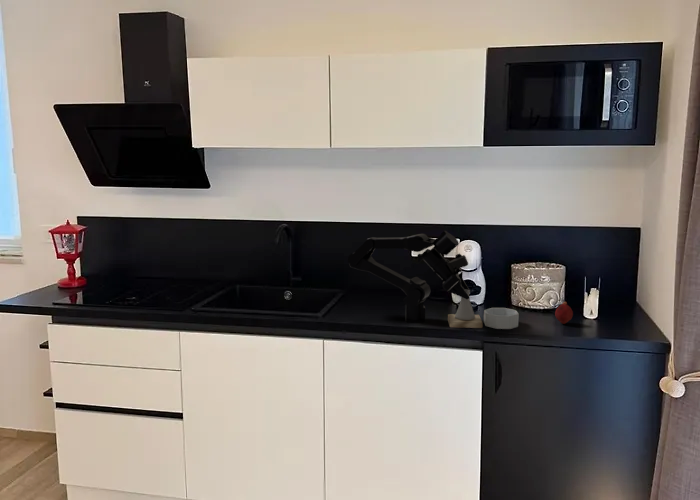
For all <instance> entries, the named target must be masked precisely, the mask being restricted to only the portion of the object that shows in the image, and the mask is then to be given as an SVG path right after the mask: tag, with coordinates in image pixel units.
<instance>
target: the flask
mask: <svg viewBox="0 0 700 500" xmlns="http://www.w3.org/2000/svg"><path fill="white" fill-rule="evenodd" d="M464 290H465V289H464ZM465 291H466V293H467V294H468V296H469V299H465V298H463V297H460V298H461V299H460V302H459V304H458V308H457V311H456V313H455V314H456V315H455V318H456V319H460V320H472V319H475V315H476V314H475V312H474V308H473V306H472V303H471V298H470V293H471V290H470V289H469V290H465Z"/></svg>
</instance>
